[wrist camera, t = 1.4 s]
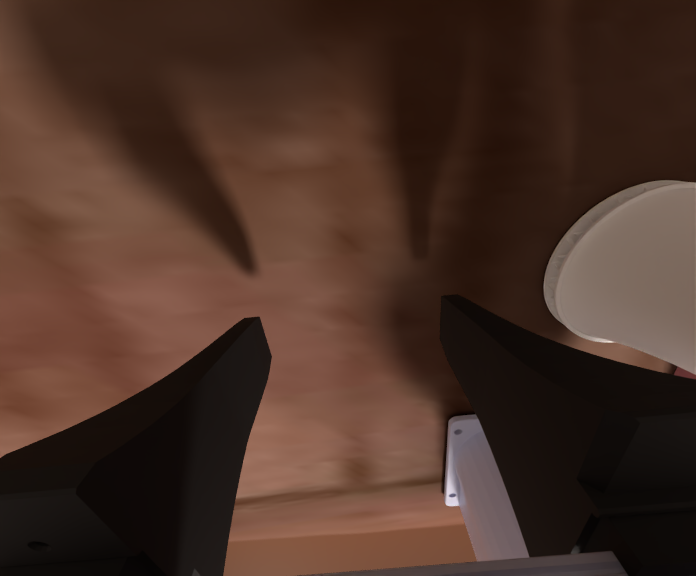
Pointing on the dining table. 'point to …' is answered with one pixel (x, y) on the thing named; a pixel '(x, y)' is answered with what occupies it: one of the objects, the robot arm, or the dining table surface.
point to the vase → (631, 272)
